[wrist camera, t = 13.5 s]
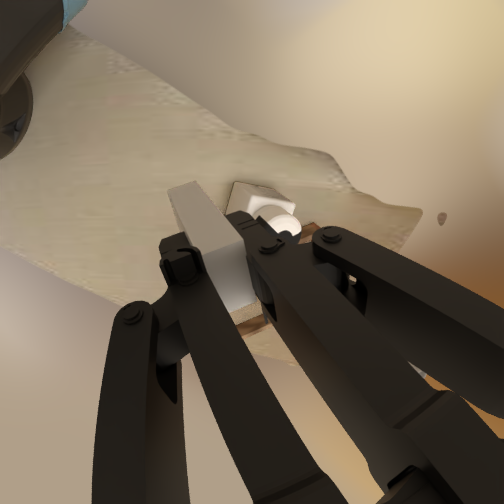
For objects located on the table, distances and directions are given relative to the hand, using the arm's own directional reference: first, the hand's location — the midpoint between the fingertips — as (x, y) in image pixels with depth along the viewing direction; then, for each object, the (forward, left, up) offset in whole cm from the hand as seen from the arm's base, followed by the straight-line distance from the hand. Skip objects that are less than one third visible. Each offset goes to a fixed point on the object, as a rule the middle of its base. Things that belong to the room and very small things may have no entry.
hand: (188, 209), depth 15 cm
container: (+12, -17, -31) cm, 37 cm away
